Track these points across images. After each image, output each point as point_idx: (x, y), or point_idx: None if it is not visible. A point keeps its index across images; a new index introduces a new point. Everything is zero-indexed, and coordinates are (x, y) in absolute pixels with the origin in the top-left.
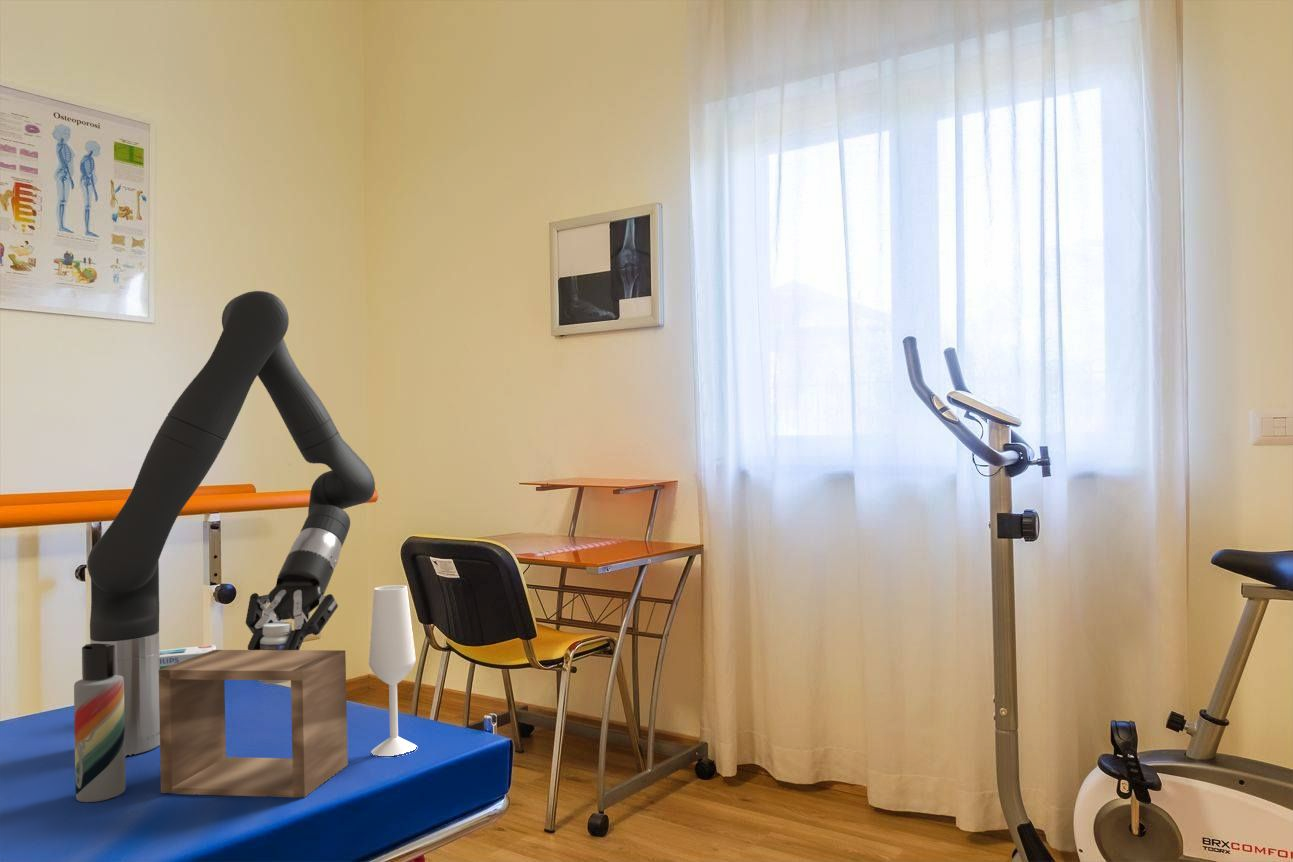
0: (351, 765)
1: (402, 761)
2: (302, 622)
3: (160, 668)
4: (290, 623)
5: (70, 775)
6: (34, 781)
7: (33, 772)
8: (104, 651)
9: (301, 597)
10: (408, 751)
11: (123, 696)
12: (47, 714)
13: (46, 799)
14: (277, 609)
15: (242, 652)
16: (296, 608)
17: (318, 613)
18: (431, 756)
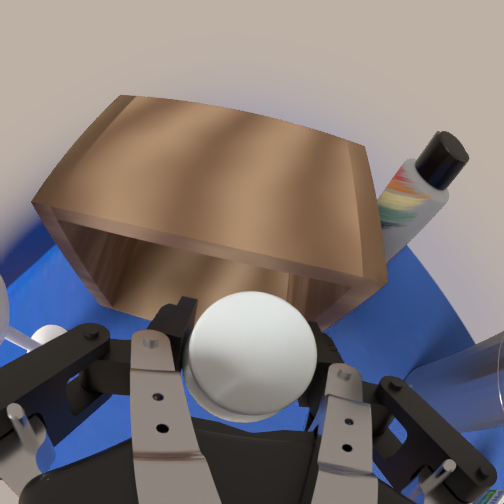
0: (96, 305)
1: (42, 304)
2: (131, 349)
3: (485, 502)
4: (192, 358)
5: (422, 317)
6: (436, 302)
7: (452, 326)
8: (433, 136)
9: (133, 455)
10: (34, 334)
11: (397, 195)
12: None
13: (395, 257)
14: (311, 443)
15: (293, 234)
16: (165, 396)
17: (47, 353)
18: (15, 313)
